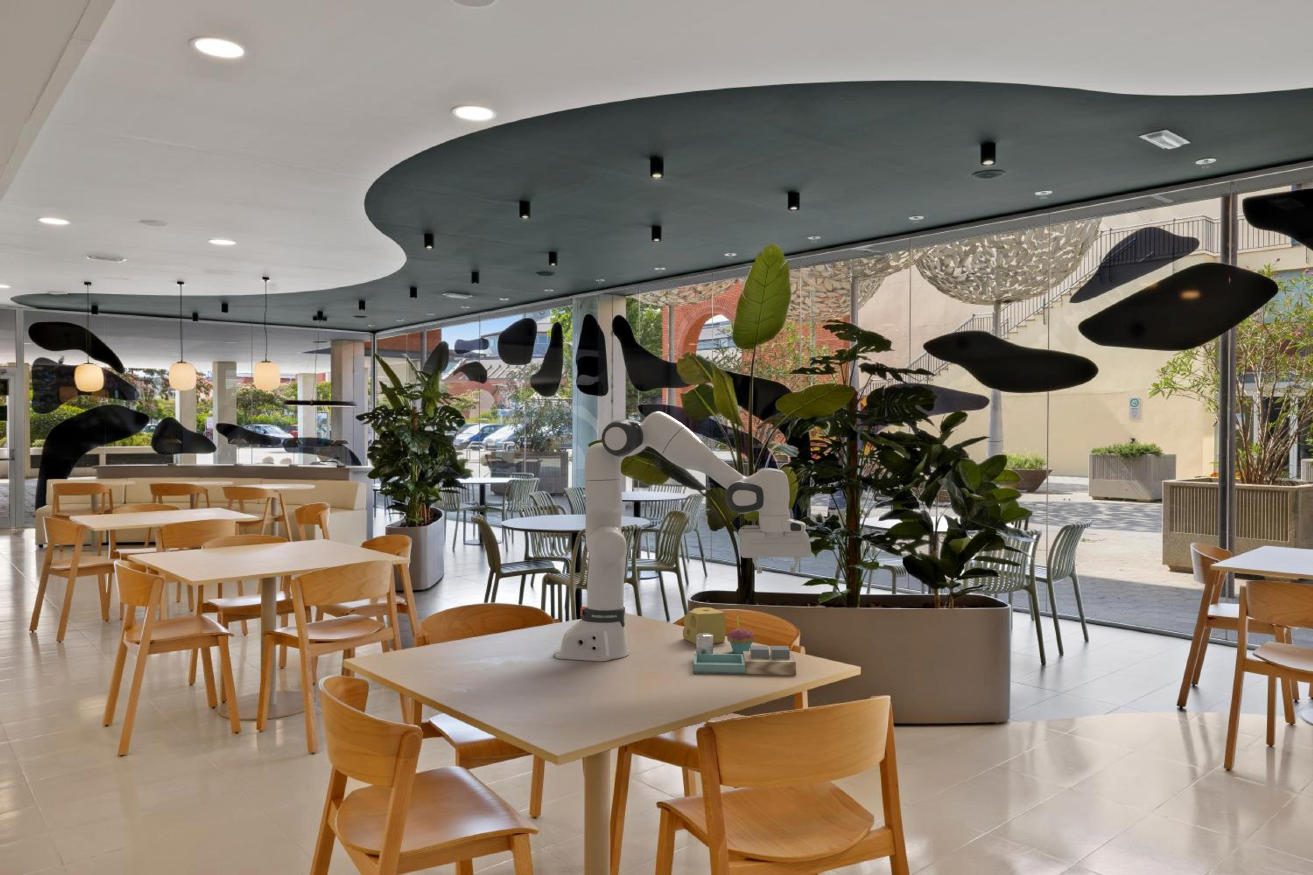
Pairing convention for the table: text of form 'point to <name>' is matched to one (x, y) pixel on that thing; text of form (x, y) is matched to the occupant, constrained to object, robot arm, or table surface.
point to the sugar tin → (704, 643)
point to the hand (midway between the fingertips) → (776, 573)
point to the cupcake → (740, 639)
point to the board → (769, 665)
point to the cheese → (705, 624)
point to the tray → (719, 663)
